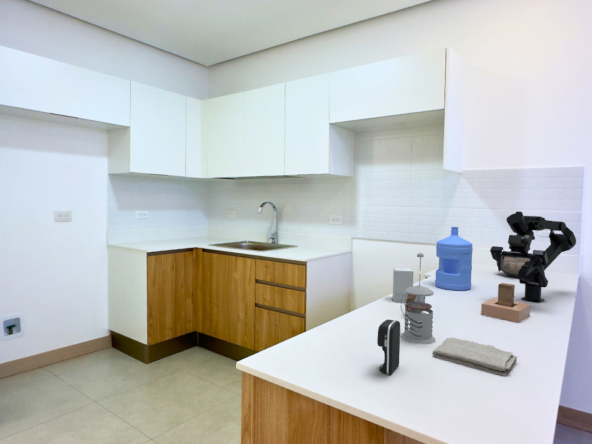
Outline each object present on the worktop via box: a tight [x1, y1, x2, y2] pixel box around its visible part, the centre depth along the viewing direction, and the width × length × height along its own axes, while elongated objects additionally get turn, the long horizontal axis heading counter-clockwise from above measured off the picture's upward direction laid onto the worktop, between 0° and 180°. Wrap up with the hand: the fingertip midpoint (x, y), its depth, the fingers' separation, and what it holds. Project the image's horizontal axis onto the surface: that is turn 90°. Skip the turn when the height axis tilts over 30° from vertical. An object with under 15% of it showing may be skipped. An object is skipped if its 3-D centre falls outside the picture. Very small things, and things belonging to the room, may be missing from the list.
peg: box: [497, 282, 516, 307], centre depth 135 cm, size 4×4×11 cm
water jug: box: [434, 226, 474, 291], centre depth 178 cm, size 16×16×28 cm
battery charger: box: [376, 319, 401, 375], centre depth 91 cm, size 7×4×11 cm, turn 149°
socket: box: [480, 297, 531, 324], centre depth 136 cm, size 12×12×4 cm
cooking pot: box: [496, 256, 530, 279], centre depth 206 cm, size 25×19×12 cm
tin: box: [405, 294, 426, 314], centre depth 137 cm, size 15×3×8 cm, turn 145°
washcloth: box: [432, 337, 518, 377], centre depth 98 cm, size 12×18×3 cm, turn 51°
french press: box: [400, 252, 436, 345], centre depth 113 cm, size 10×12×25 cm
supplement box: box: [392, 267, 414, 304], centre depth 154 cm, size 7×7×13 cm
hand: (512, 272), depth 143 cm, fingers open, 9 cm apart
